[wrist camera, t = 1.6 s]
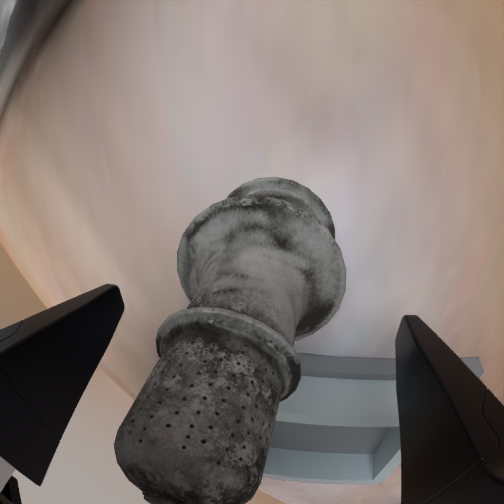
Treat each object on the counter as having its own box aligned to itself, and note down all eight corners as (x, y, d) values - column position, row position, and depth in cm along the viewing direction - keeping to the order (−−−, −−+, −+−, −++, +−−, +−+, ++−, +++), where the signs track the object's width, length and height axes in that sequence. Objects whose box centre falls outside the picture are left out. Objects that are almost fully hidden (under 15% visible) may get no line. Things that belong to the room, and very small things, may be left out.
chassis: (478, 357, 14) (494, 403, 11) (415, 447, 19) (417, 482, 16) (190, 338, 17) (166, 384, 14) (215, 432, 23) (202, 466, 20)
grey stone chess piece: (206, 167, 12) (-59, 387, 2) (349, 176, 11) (404, 576, 1) (213, 284, 15) (87, 511, 5) (332, 298, 14) (302, 574, 4)
